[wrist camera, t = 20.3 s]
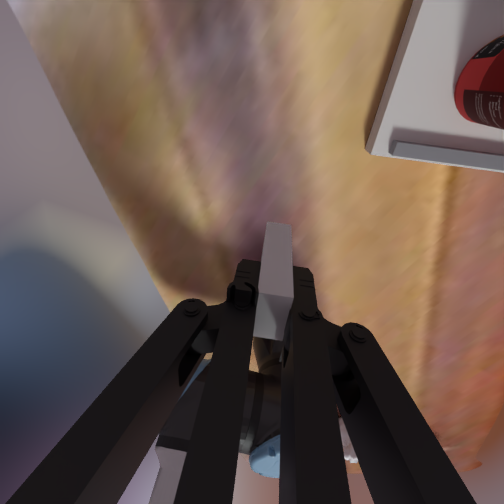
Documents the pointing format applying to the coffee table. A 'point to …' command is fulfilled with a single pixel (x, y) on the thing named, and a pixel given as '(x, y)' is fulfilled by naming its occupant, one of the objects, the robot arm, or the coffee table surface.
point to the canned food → (483, 86)
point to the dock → (438, 87)
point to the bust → (347, 443)
